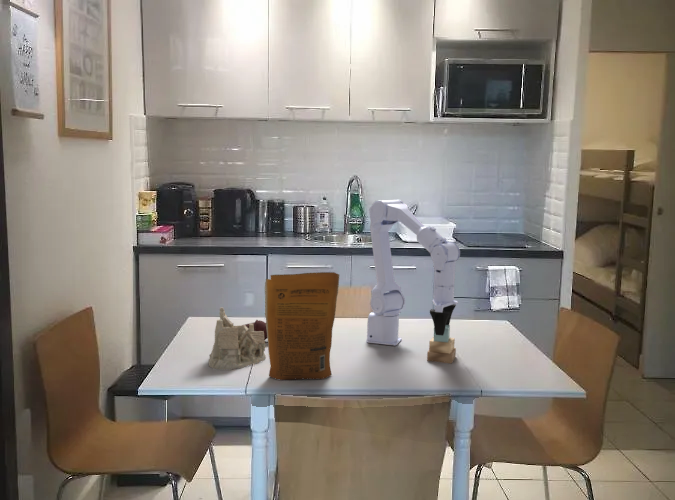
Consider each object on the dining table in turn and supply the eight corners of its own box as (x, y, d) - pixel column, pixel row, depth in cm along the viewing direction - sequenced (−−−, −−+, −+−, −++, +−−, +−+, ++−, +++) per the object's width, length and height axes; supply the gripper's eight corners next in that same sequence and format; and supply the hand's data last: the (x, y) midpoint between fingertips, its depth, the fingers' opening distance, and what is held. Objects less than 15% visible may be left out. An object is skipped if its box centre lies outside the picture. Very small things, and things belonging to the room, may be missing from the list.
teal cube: (433, 341, 195) (433, 327, 195) (435, 337, 199) (435, 324, 198) (447, 342, 194) (448, 328, 193) (449, 338, 198) (449, 325, 197)
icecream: (230, 324, 206) (280, 329, 206) (234, 312, 213) (283, 317, 213) (229, 344, 209) (278, 349, 209) (233, 332, 216) (281, 337, 216)
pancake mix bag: (338, 381, 176) (341, 274, 172) (264, 382, 174) (264, 274, 170) (335, 373, 183) (338, 269, 179) (263, 374, 180) (264, 269, 176)
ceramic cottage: (203, 368, 183) (207, 313, 182) (214, 353, 200) (217, 302, 198) (261, 373, 184) (265, 318, 182) (267, 357, 200) (271, 307, 198)
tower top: (429, 351, 196) (429, 340, 195) (433, 345, 201) (434, 335, 201) (450, 353, 194) (450, 343, 193) (454, 348, 199) (454, 338, 199)
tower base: (427, 362, 195) (427, 351, 195) (431, 355, 202) (431, 345, 201) (451, 364, 193) (452, 354, 193) (455, 358, 200) (455, 348, 199)
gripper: (454, 290, 186) (451, 339, 188) (462, 281, 200) (459, 327, 202) (428, 288, 189) (426, 336, 191) (438, 279, 202) (436, 324, 204)
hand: (442, 331), depth 196 cm, fingers open, 7 cm apart
